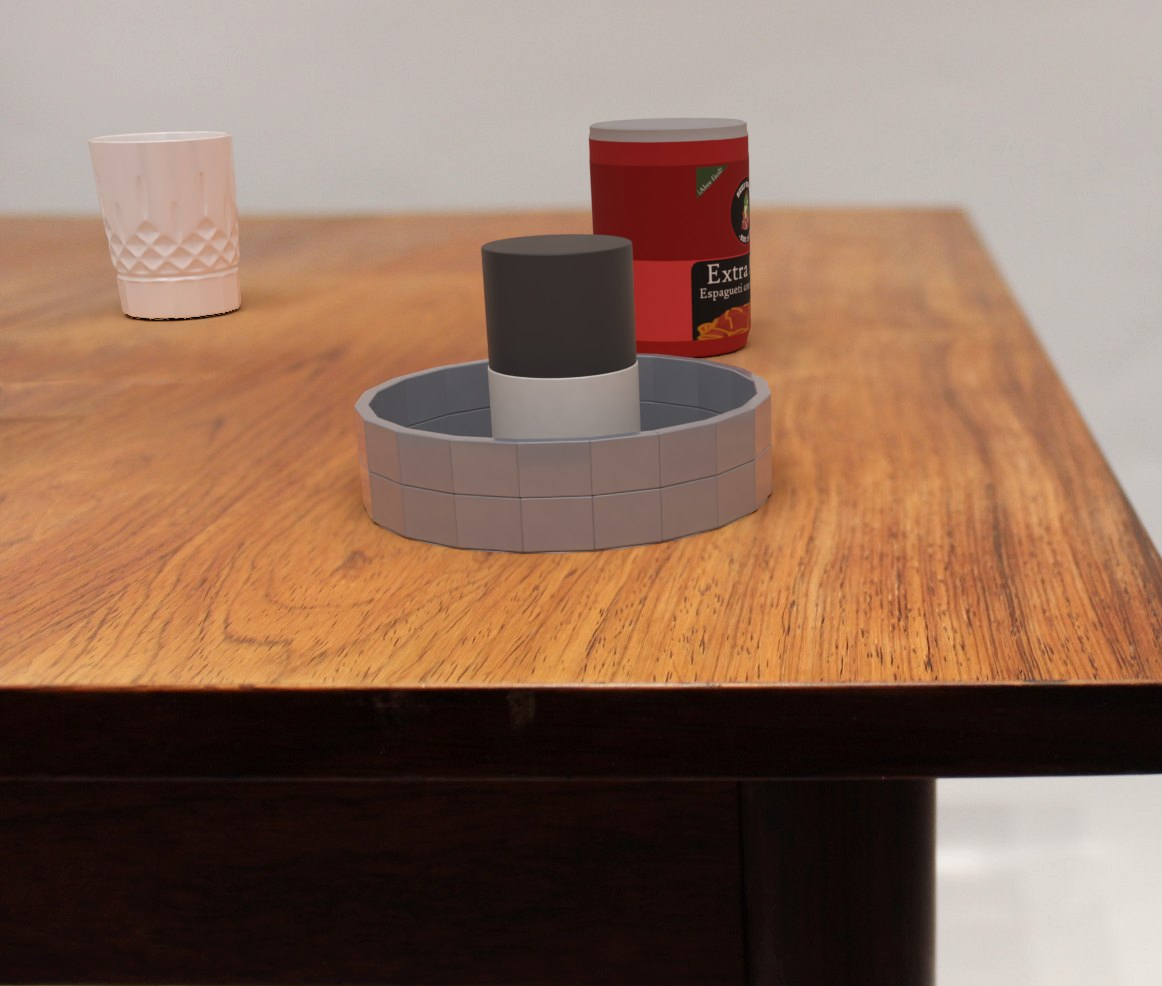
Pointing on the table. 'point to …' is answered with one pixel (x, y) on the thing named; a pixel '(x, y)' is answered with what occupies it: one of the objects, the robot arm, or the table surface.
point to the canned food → (679, 227)
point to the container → (561, 336)
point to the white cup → (170, 220)
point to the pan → (565, 462)
